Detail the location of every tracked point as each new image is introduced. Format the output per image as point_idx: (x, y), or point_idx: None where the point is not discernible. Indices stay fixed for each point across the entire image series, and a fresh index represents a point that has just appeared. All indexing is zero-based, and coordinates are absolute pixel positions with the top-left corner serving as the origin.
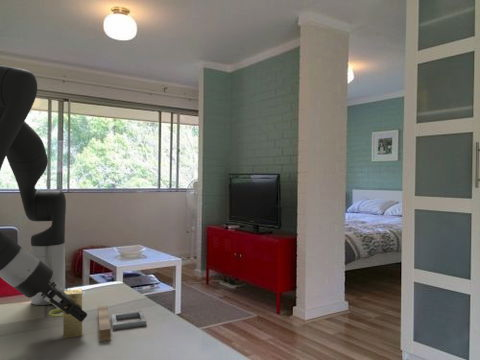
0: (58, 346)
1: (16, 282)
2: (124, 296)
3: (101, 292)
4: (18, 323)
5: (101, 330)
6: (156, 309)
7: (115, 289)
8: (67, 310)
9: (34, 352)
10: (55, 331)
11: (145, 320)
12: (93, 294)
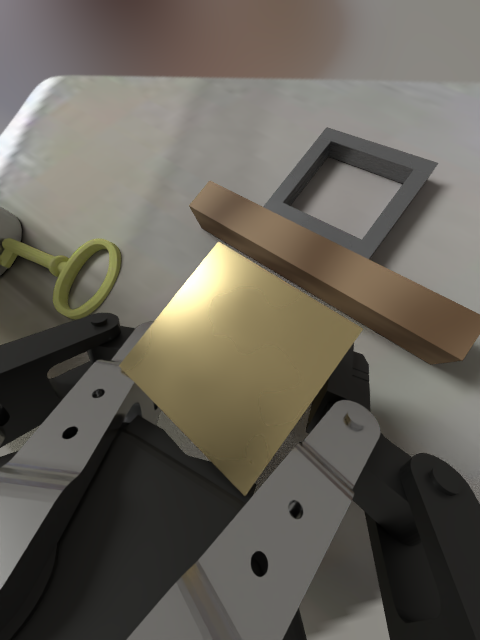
0: None
1: None
2: (143, 108)
3: (66, 133)
4: None
5: (465, 353)
6: (315, 94)
7: (82, 101)
8: (421, 543)
9: (314, 591)
10: None
11: (432, 163)
12: (58, 153)
